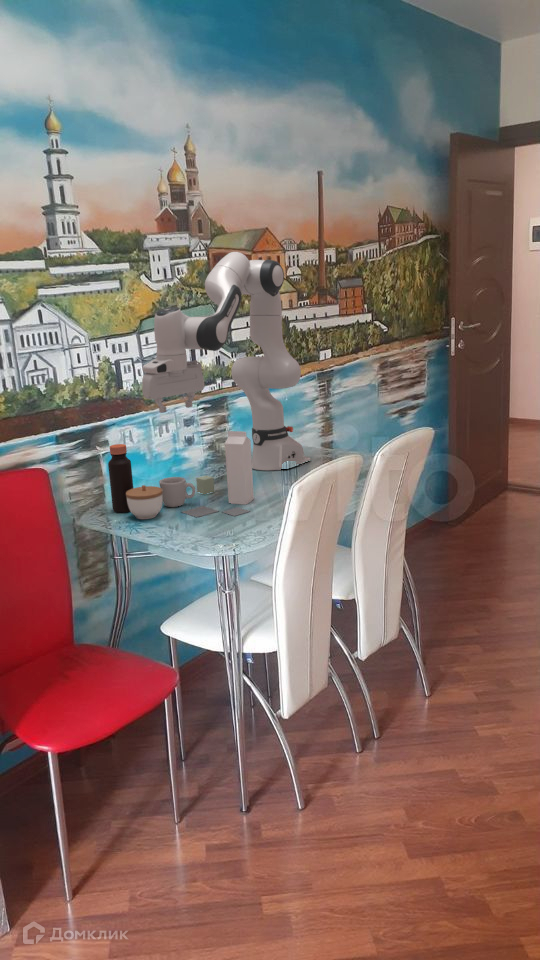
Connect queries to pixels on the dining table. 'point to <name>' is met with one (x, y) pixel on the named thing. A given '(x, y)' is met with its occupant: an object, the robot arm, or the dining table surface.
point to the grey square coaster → (236, 511)
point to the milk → (239, 468)
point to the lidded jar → (145, 501)
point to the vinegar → (120, 477)
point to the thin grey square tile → (200, 511)
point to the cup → (175, 491)
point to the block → (205, 484)
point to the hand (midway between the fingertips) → (176, 409)
